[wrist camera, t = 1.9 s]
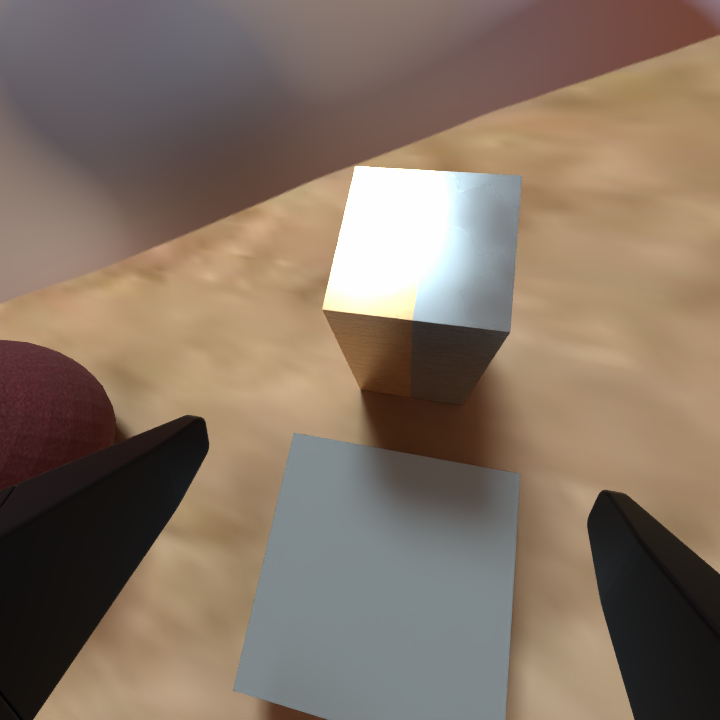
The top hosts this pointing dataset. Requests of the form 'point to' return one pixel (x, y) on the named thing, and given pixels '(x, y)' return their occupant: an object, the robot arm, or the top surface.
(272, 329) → the top surface
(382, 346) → the two-tone metal block
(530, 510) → the top surface
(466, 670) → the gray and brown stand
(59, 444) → the decorative ball
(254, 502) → the top surface
